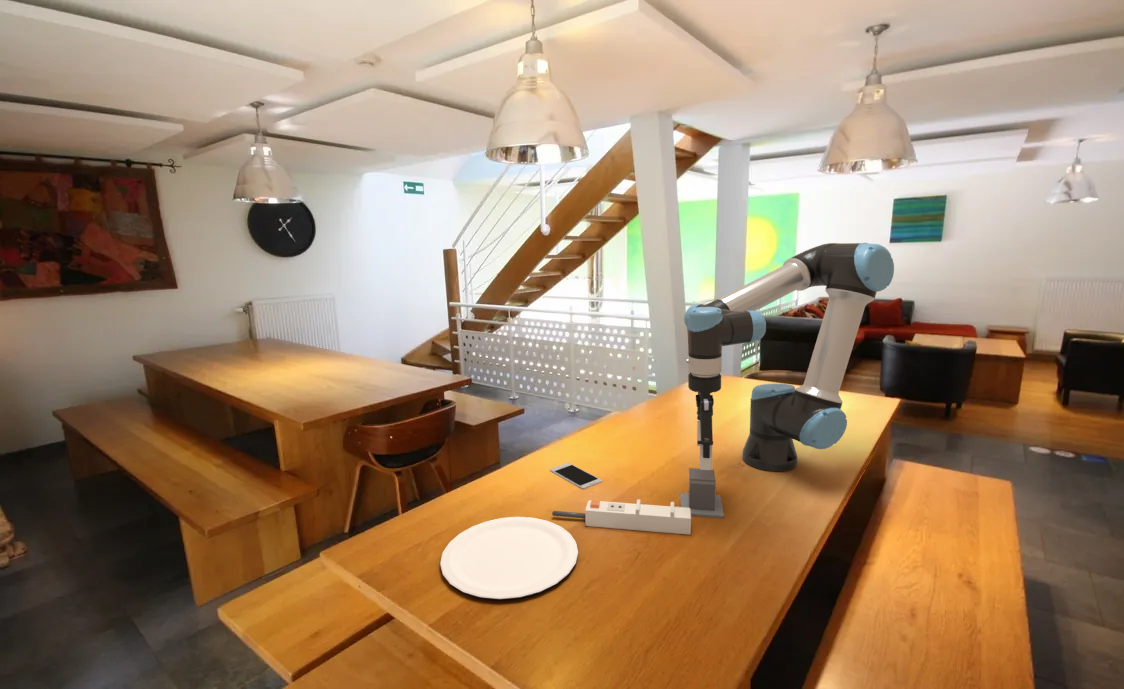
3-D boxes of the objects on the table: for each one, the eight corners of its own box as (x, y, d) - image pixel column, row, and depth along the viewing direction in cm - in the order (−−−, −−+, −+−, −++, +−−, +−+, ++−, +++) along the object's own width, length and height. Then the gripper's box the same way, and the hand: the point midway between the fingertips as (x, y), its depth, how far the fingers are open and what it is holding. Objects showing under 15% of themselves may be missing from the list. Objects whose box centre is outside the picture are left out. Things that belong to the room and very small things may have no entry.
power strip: (689, 523, 124) (690, 503, 123) (690, 534, 119) (691, 513, 118) (554, 512, 130) (553, 493, 129) (550, 522, 126) (549, 502, 125)
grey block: (713, 498, 134) (713, 469, 132) (714, 511, 128) (715, 480, 126) (688, 497, 135) (688, 467, 133) (688, 509, 129) (689, 478, 127)
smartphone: (568, 464, 158) (568, 462, 158) (603, 483, 146) (603, 480, 146) (549, 471, 154) (549, 468, 154) (583, 491, 142) (583, 488, 141)
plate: (525, 626, 93) (525, 617, 93) (410, 574, 108) (409, 567, 108) (602, 543, 117) (602, 536, 117) (499, 511, 133) (498, 504, 132)
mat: (720, 497, 135) (720, 495, 135) (723, 518, 126) (724, 515, 125) (680, 495, 137) (680, 492, 137) (680, 514, 128) (680, 512, 127)
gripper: (686, 360, 137) (687, 436, 142) (689, 388, 113) (690, 479, 118) (716, 359, 135) (716, 437, 140) (726, 389, 112) (725, 481, 116)
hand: (704, 456), depth 129 cm, fingers open, 13 cm apart
